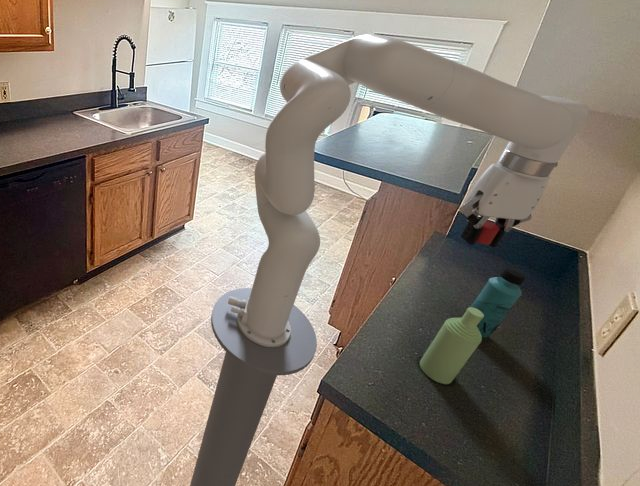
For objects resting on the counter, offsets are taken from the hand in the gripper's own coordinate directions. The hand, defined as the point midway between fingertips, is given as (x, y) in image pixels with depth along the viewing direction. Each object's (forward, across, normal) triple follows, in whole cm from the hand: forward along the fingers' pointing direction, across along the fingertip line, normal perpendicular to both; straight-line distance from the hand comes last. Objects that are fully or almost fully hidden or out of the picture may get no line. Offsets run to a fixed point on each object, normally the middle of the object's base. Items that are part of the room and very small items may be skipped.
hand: (477, 241), depth 80 cm
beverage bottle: (+29, -16, -3) cm, 33 cm away
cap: (-1, 0, 0) cm, 1 cm away
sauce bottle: (+29, +2, +10) cm, 31 cm away
